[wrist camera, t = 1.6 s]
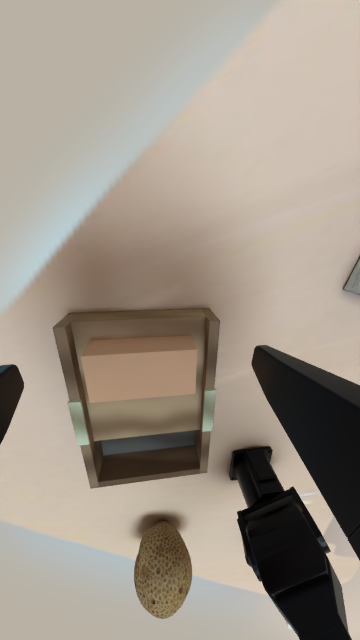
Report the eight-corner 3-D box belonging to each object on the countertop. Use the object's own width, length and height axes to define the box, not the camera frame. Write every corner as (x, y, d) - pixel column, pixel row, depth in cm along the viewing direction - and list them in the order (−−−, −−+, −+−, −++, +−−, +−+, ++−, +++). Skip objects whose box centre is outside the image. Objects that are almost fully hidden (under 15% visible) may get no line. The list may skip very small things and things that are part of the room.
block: (190, 375, 23) (195, 393, 20) (97, 382, 22) (89, 402, 19) (191, 335, 21) (197, 349, 18) (90, 340, 20) (80, 356, 17)
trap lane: (201, 446, 31) (208, 474, 27) (97, 458, 29) (89, 491, 25) (210, 308, 23) (221, 321, 19) (67, 313, 21) (49, 329, 17)
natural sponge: (171, 540, 40) (177, 631, 30) (127, 536, 37) (120, 633, 28) (193, 512, 37) (208, 602, 28) (148, 505, 35) (148, 601, 26)
